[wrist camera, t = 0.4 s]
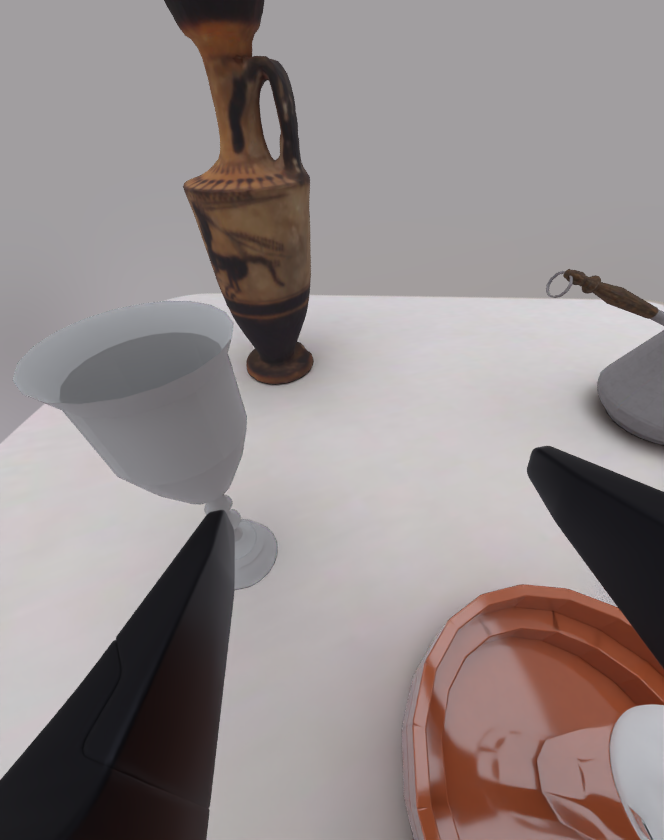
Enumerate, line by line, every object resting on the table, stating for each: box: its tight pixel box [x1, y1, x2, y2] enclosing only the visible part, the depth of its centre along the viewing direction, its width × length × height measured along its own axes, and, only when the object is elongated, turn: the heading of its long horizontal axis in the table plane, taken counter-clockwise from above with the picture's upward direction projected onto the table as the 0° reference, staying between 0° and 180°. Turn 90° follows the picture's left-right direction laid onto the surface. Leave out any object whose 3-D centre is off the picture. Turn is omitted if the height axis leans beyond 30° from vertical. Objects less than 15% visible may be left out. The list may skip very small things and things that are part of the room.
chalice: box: [13, 301, 277, 589], centre depth 18 cm, size 7×7×18 cm
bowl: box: [402, 584, 664, 840], centre depth 14 cm, size 15×15×4 cm
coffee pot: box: [546, 269, 664, 445], centre depth 28 cm, size 21×12×15 cm, turn 89°
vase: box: [164, 0, 313, 384], centre depth 31 cm, size 11×11×30 cm
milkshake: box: [536, 704, 664, 840], centre depth 12 cm, size 5×5×10 cm
